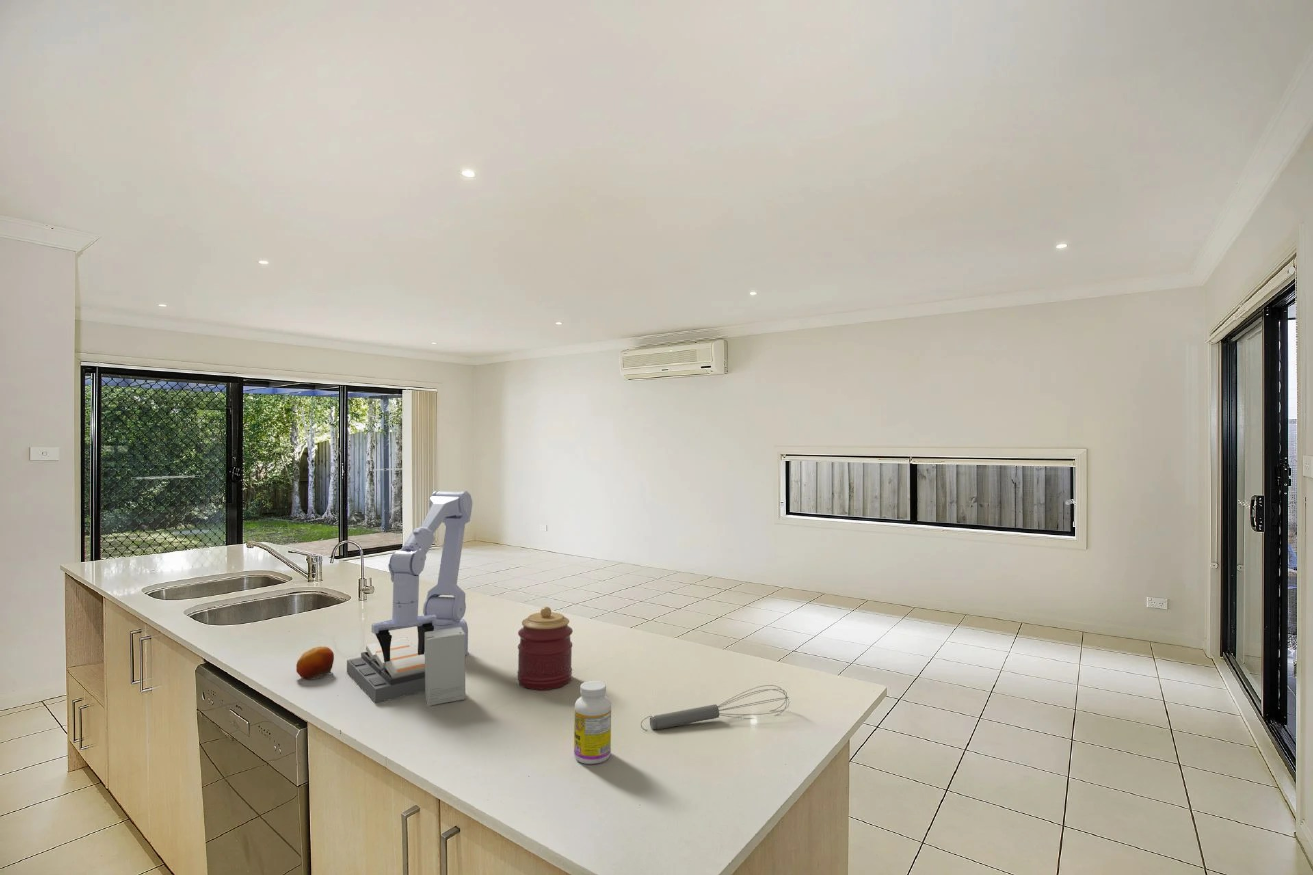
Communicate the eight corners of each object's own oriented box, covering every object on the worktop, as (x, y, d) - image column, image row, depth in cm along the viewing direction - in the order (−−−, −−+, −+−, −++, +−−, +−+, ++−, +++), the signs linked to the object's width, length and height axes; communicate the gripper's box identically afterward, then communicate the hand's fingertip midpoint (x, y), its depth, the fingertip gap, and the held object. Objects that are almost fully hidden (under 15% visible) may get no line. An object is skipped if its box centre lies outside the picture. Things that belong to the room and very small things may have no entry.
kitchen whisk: (636, 724, 125) (637, 694, 125) (780, 708, 135) (781, 679, 135) (645, 738, 119) (645, 706, 120) (794, 719, 129) (795, 690, 129)
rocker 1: (406, 642, 160) (407, 636, 160) (414, 652, 156) (414, 646, 156) (365, 649, 154) (366, 643, 154) (372, 660, 150) (372, 654, 149)
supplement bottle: (574, 748, 114) (575, 678, 115) (610, 747, 115) (611, 677, 115) (572, 766, 108) (574, 692, 108) (610, 765, 108) (611, 691, 109)
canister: (582, 676, 151) (583, 604, 152) (551, 694, 140) (553, 616, 140) (538, 667, 157) (539, 598, 157) (505, 684, 145) (507, 609, 145)
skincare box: (461, 691, 141) (463, 625, 141) (465, 700, 136) (467, 632, 136) (422, 697, 137) (424, 630, 138) (425, 707, 132) (426, 637, 132)
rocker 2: (429, 658, 148) (429, 652, 148) (437, 669, 144) (438, 663, 144) (385, 667, 142) (386, 660, 141) (392, 679, 137) (393, 672, 137)
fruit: (324, 677, 144) (310, 646, 145) (299, 692, 146) (285, 662, 147) (348, 666, 152) (334, 637, 153) (324, 680, 153) (310, 651, 154)
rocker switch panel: (403, 655, 165) (404, 639, 165) (443, 686, 143) (443, 668, 143) (342, 667, 155) (343, 650, 155) (375, 702, 134) (375, 683, 134)
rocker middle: (417, 650, 154) (418, 644, 154) (425, 660, 150) (425, 654, 150) (375, 658, 148) (375, 652, 148) (382, 668, 143) (382, 662, 143)
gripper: (378, 608, 139) (376, 669, 138) (442, 599, 148) (440, 657, 148) (369, 602, 144) (367, 661, 144) (431, 595, 154) (429, 650, 153)
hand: (403, 658), depth 146 cm, fingers open, 7 cm apart
